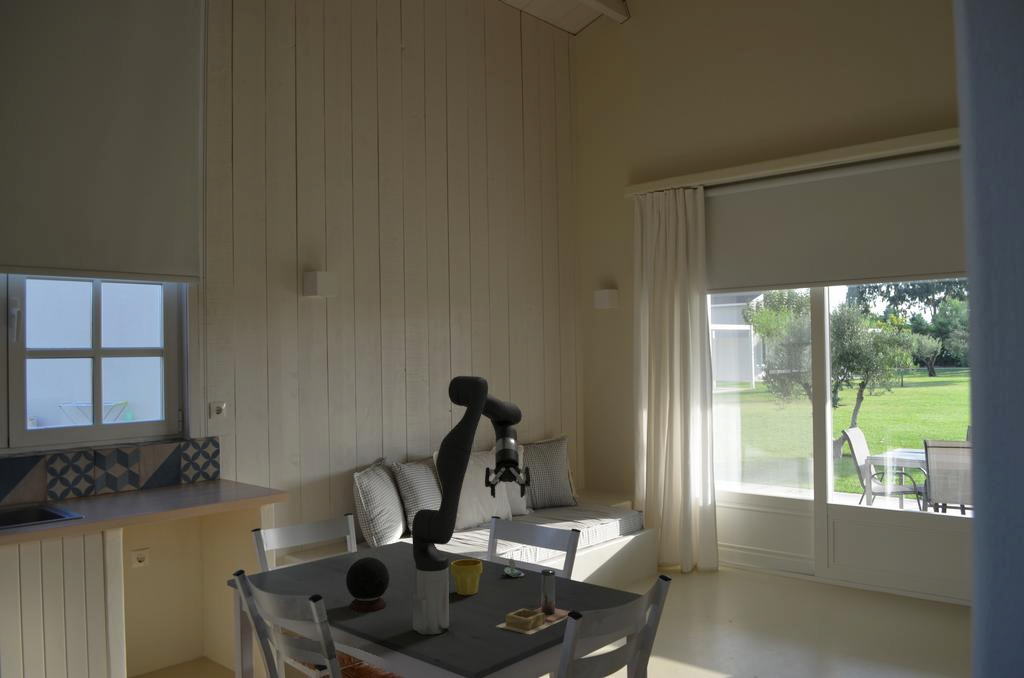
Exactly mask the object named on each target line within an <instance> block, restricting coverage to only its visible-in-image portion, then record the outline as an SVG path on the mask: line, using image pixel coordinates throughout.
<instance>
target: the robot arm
mask: <svg viewBox="0 0 1024 678" xmlns="http://www.w3.org/2000/svg"><path fill="white" fill-rule="evenodd" d="M447 390H448V391H447V392H448V397H449V398H448V399H450V401H451V403H453V404H454V405H456V406H459V407H465V408H466V409H465V412H464V413H463V416H462V418H461V419H460V420H459V421H458V423H457V424H456V425H455V426H454V427H453V428H452V429H451V430H450V431H449V432H448V433H447V434H446V436H445V437H444V438H443V439H442V441H441V443H440V446H439V449H438V452H437V457H436V460H435V468H436V474H437V477H438V479H439V480H438V481H439V482H440V487H441V500H440V501H441V502H440V506H439V509H427V508H426V509H425V508H422V509H419V510H417V511H416V512H415V515H414V517H413V519H412V524H411V525H412V526H411V531H412V532H411V535H412V536H411V537H412V539H411V540H412V553H413V554H412V555H413V559H414V562H415V594H413V597H412V611H413V612H412V613H413V614H412V616H413V617H412V625H413V626H412V628H413V630H414V631H416V632H417V633H419V634H421V636H424V635H425V636H426V635H438V634H443V633H445V632H448V631H449V629H447V628H448V627H449V626H450V600H449V598H450V596H449V593H450V590H449V589H450V588H449V586H450V585H449V582H450V581H449V579H450V577H449V575H450V574H449V568H450V567H449V566H450V564H449V563H450V562H449V558H448V556H447V554H444V553H443V552H441V551H440V550H439V549H438V548H437V547H436V545H446V544H448V543H449V542H450V541H451V539H452V538H453V535H454V532H455V527H456V523H457V516H458V509H459V503H460V497H461V493H462V489H463V483H464V479H465V476H466V472H467V468H468V465H469V461H470V458H471V455H472V454H471V453H472V449H473V444H474V441H475V436H476V433H477V429H478V426H479V422H480V419H481V417H482V415H483V417H485V418H487V419H489V420H490V422H491V425H492V427H493V429H494V434H495V447H494V448H495V450H494V452H495V453H494V457H495V468H494V469H493V468H491V469H490V467H488V466H487V467H485V475H484V486H485V488H490V496H491V497H492V498H493V499H496V487H497V486H498V485H499V484H500V483H501V482H502V483H507V482H508V483H513V482H514V483H515V484H516V485H518V486H519V492H520V498H522V499H523V498H524V497H525V495H526V488H527V487H530V486H531V474H530V473H531V472H530V467H529V466H525V468H520V462H519V461H520V459H519V455H520V454H519V453H520V452H519V446H518V433H517V430H516V429H515V427H513V426H516V425H518V424H519V423H520V422H521V421H522V417H523V415H522V410H521V409H520V408H519V406H517V404H516V403H512V402H507V401H502V400H501V399H499V398H497V397H496V396H494V395H492V394H489V383H488V381H487V378H484V377H483V376H474V375H473V376H470V375H458V376H454V377H453V378H452V379H451V380H450V382H449V384H448V389H447ZM493 474H494V477H493V479H492V480H491V481H490V477H492V476H493ZM521 474H522V475H523V476H524V477H525V480H524V479H523V478H522V477H521Z"/></svg>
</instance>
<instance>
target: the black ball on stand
mask: <svg viewBox="0 0 1024 678" xmlns="http://www.w3.org/2000/svg"><path fill="white" fill-rule="evenodd" d="M345 576H346V579H345V583H346V588H347V591H348V592H349V594H350V595H351V596H352V597H353V598H354V599H353V600H352V601H351V602H350V603H349V607H348V608H350V609H351V610H350V609H349V610H350V611H352V610H353V611H352V612H355V611H357V612H356V613H373V611H374V612H378V611H381V610H384V609H386V607H387V602H386V601H385V599H383V598H382V596H384V594H385V593H386V591H387V589H388V587H389V584H390V573H389V569H388V568H387V565H385V564H384V562H382V561H381V560H379V558H378V559H377V558H376V557H369V556H368V557H363V558H362V557H361V558H359V559H358V560H356V561H354V563H352V565H350V567H349V569H348V570H347V573H346V575H345Z"/></svg>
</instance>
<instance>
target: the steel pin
mask: <svg viewBox="0 0 1024 678" xmlns="http://www.w3.org/2000/svg"><path fill="white" fill-rule="evenodd" d="M540 575H541V580H540V581H541V585H540V589H541V590H540V596H541V597H540V598H541V599H540V600H541V601H540V604H541V606H540V608H541V612H543V613H545V615H553V614H555V608H556V570H554V569H547V568H546V569H542V570H541V574H540Z"/></svg>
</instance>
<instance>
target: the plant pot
mask: <svg viewBox="0 0 1024 678" xmlns="http://www.w3.org/2000/svg"><path fill="white" fill-rule="evenodd" d="M450 573H451V575H452V576H453V581H454V585H455V589H456V594H458V595H460V596H470V595H471V596H473V595H476V594H477V593H478V589H479V583H480V578H481V574H482V573H483V562H482V561H481V560H480V559H479V560H478V559H474V558H473V559H472V558H471V559H470V558H464V559H457V560H453V561H451V563H450Z"/></svg>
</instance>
